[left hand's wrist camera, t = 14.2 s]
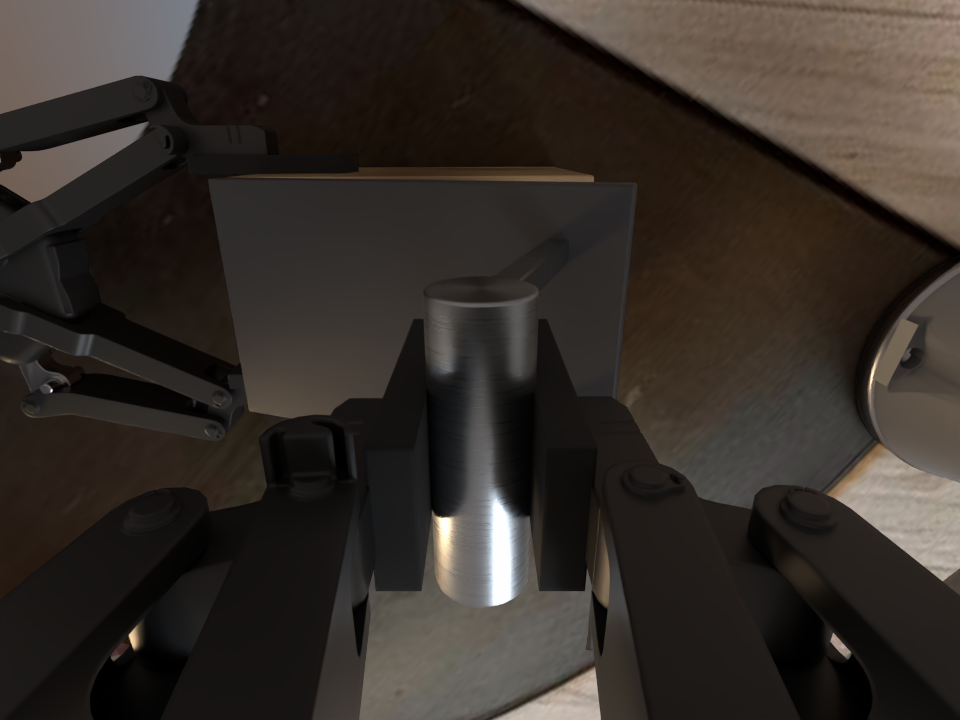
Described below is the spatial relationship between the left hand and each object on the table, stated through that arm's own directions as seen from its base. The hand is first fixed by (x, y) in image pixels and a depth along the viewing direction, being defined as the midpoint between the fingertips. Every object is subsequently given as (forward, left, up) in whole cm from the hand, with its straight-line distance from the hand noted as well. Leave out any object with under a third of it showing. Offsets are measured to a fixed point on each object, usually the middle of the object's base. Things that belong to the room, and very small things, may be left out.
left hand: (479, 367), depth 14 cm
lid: (+2, -1, -5) cm, 6 cm away
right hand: (+5, -3, -12) cm, 13 cm away
